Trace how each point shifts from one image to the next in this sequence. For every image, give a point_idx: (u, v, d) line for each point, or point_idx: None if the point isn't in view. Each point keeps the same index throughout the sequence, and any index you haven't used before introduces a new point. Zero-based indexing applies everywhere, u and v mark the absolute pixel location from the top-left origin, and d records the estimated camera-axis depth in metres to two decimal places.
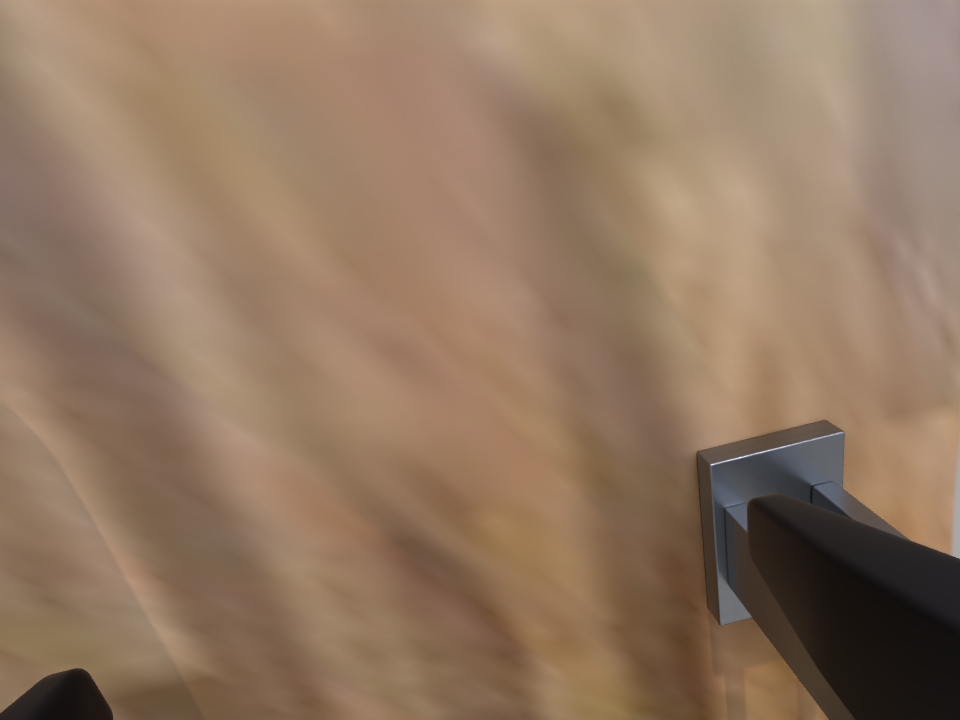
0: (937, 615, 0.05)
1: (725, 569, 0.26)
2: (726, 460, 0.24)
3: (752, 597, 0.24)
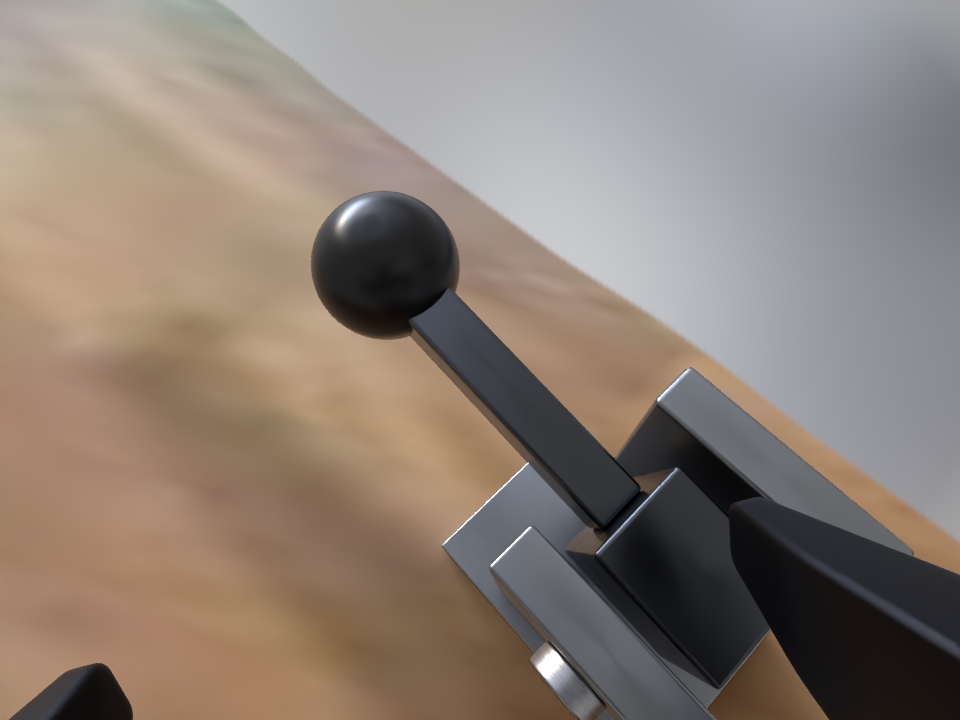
0: (909, 622, 0.05)
1: None
2: (457, 530, 0.20)
3: None
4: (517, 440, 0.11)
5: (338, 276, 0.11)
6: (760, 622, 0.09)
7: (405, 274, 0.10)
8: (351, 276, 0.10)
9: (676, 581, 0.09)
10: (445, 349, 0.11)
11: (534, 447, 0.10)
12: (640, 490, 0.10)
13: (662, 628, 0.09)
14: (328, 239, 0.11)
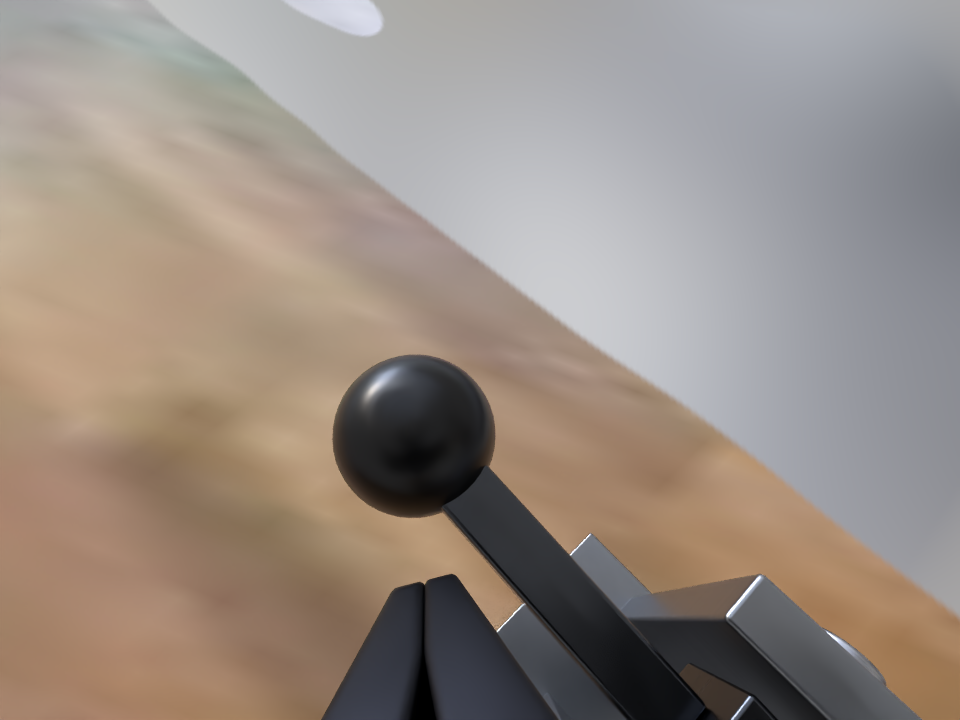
0: None
1: None
2: None
3: None
4: (565, 648, 0.09)
5: (365, 467, 0.09)
6: None
7: (439, 465, 0.09)
8: (379, 469, 0.09)
9: None
10: (483, 542, 0.10)
11: (585, 660, 0.09)
12: (705, 708, 0.09)
13: None
14: (353, 422, 0.10)
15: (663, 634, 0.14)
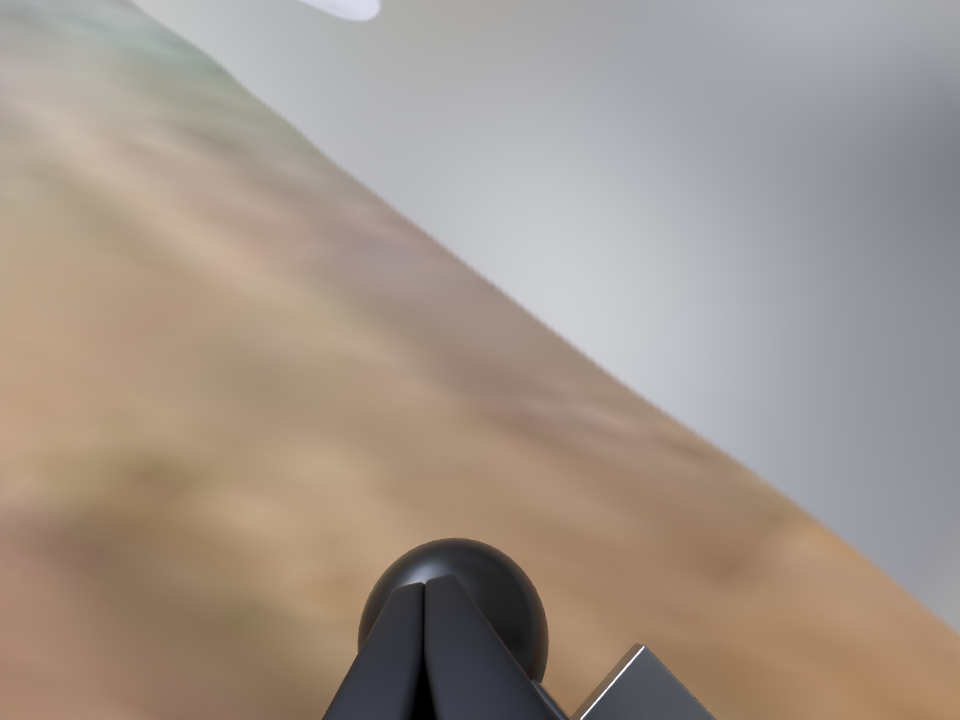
0: None
1: None
2: None
3: None
4: None
5: None
6: None
7: None
8: None
9: None
10: None
11: None
12: None
13: None
14: (371, 627, 0.08)
15: None
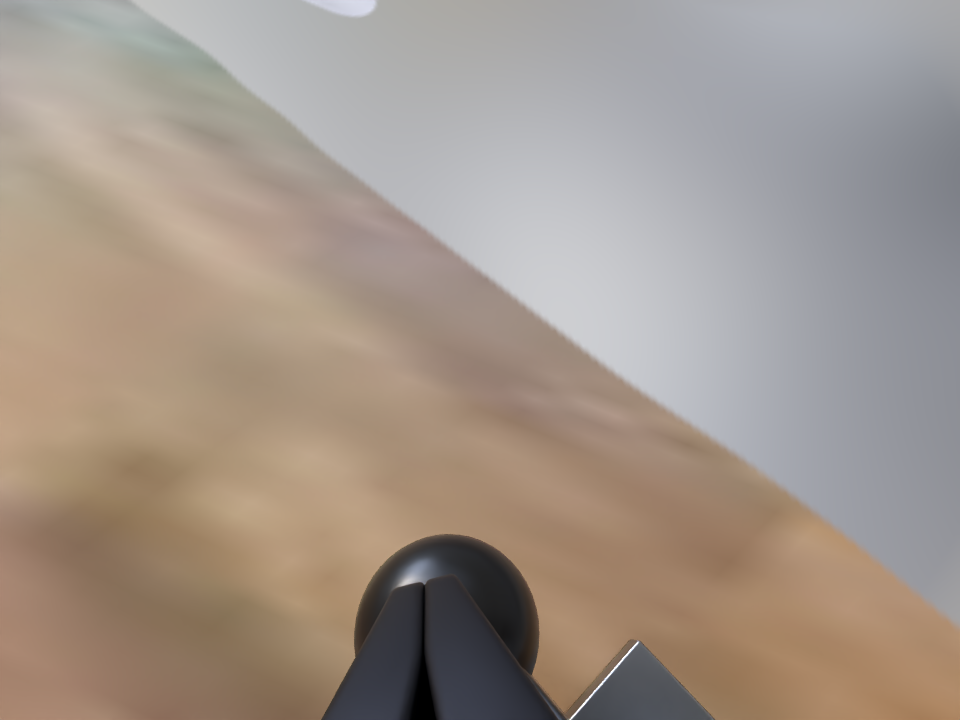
0: None
1: None
2: None
3: None
4: None
5: None
6: None
7: None
8: None
9: None
10: None
11: None
12: None
13: None
14: (365, 614, 0.09)
15: None
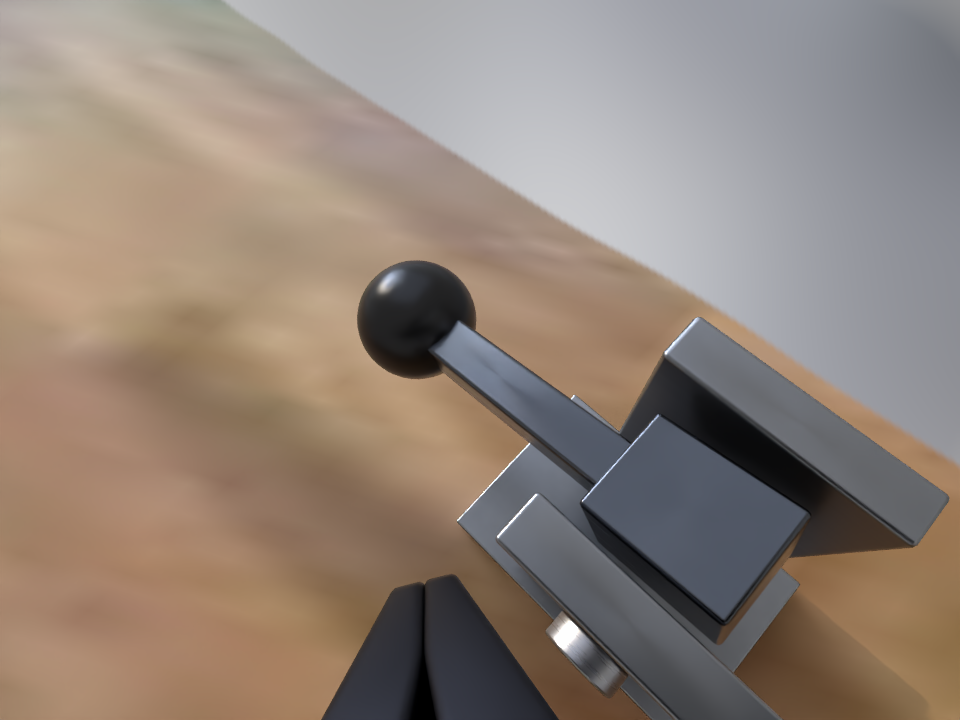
0: None
1: None
2: None
3: None
4: (519, 426, 0.12)
5: (369, 324, 0.14)
6: (764, 549, 0.08)
7: (414, 310, 0.13)
8: (376, 321, 0.13)
9: (663, 517, 0.09)
10: (455, 365, 0.13)
11: (532, 428, 0.11)
12: None
13: (653, 565, 0.09)
14: (362, 301, 0.14)
15: None
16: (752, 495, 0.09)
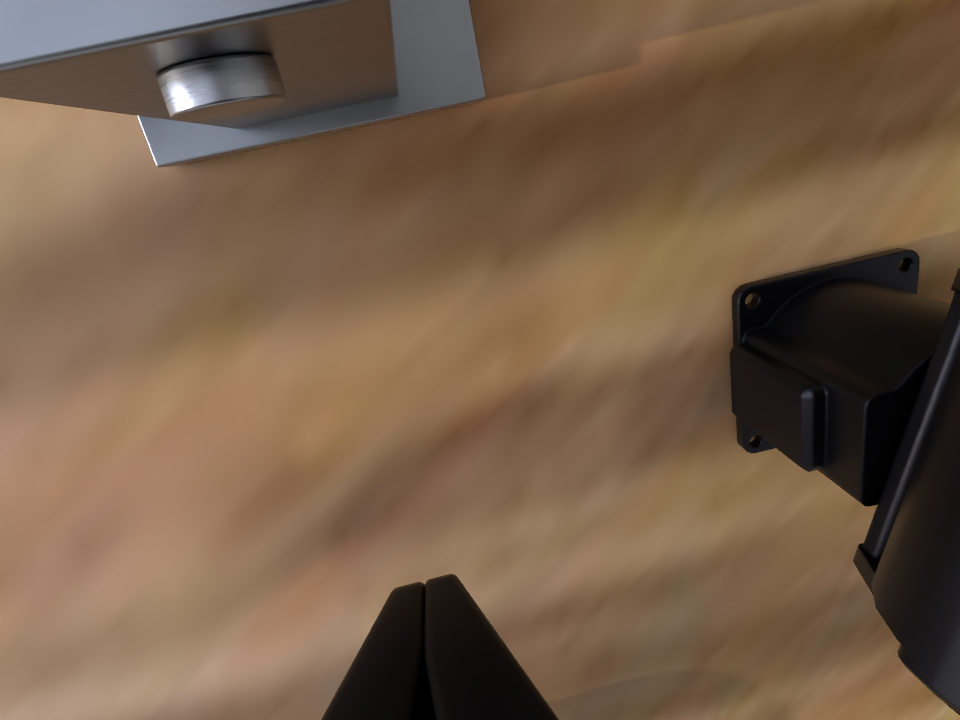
0: None
1: (360, 108, 0.15)
2: None
3: (346, 98, 0.13)
4: None
5: None
6: None
7: None
8: None
9: None
10: None
11: None
12: None
13: None
14: None
15: None
16: None
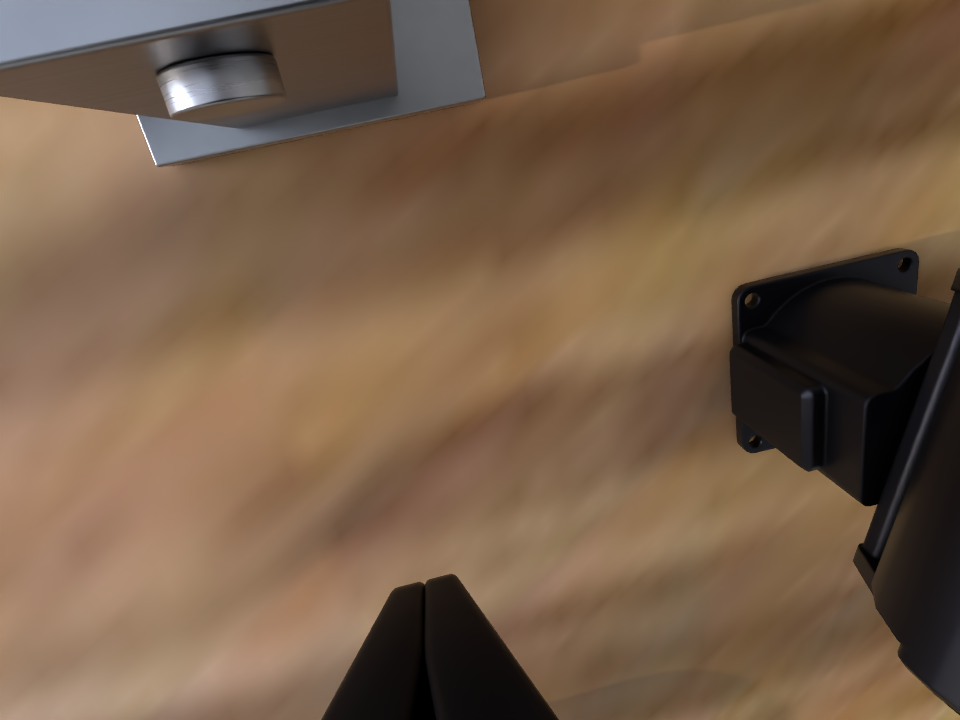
0: None
1: (360, 108, 0.15)
2: (145, 137, 0.15)
3: (346, 98, 0.13)
4: None
5: None
6: None
7: None
8: None
9: None
10: None
11: None
12: None
13: None
14: None
15: None
16: None
